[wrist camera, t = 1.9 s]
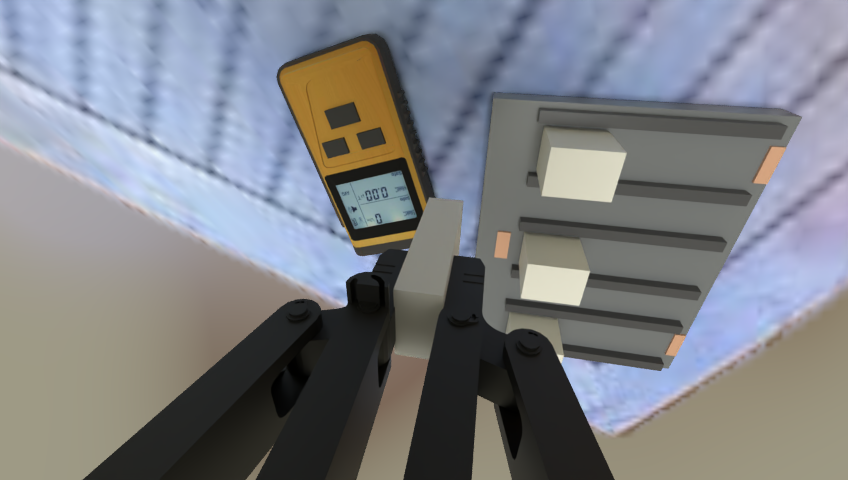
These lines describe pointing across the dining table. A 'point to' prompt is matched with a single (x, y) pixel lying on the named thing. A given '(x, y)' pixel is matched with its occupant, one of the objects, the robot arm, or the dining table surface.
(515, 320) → the tab
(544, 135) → the tab
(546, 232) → the switch bank
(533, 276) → the tab
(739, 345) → the dining table surface
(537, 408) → the robot arm
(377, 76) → the electronic device
